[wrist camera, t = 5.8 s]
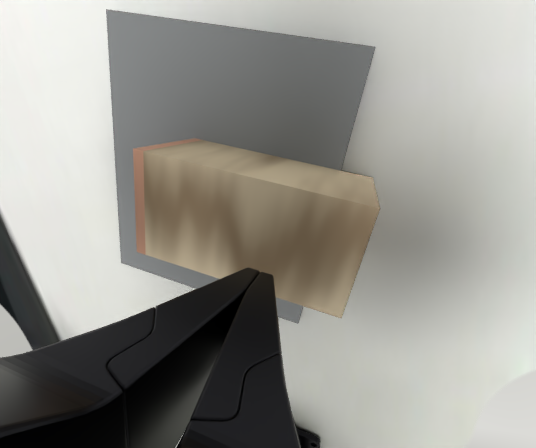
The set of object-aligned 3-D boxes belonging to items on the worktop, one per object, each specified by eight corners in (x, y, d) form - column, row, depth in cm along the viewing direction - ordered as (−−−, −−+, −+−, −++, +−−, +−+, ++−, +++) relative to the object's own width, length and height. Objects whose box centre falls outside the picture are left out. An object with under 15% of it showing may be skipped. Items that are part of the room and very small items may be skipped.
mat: (299, 318, 19) (298, 323, 19) (125, 259, 22) (121, 262, 21) (374, 49, 13) (375, 46, 12) (113, 12, 15) (106, 9, 15)
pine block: (341, 318, 12) (136, 251, 14) (345, 261, 16) (190, 217, 18) (380, 208, 10) (133, 148, 12) (372, 177, 14) (194, 138, 16)
